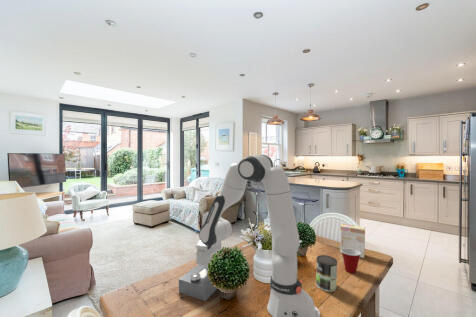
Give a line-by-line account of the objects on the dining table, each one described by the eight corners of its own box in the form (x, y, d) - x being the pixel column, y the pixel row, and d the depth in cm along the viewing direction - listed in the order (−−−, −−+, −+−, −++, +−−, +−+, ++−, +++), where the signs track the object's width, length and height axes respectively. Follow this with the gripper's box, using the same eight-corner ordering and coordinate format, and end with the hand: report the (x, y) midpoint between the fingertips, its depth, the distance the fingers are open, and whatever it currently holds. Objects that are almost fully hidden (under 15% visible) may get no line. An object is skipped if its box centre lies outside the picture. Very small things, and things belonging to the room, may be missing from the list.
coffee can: (320, 291, 112) (320, 264, 111) (313, 280, 122) (313, 254, 122) (340, 292, 112) (341, 264, 112) (331, 280, 122) (332, 255, 122)
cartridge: (207, 273, 124) (208, 258, 124) (215, 275, 122) (215, 260, 121) (195, 284, 113) (195, 268, 113) (203, 287, 111) (203, 270, 111)
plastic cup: (351, 265, 139) (352, 246, 139) (364, 274, 128) (365, 254, 128) (336, 266, 137) (336, 247, 137) (348, 276, 126) (349, 255, 126)
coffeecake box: (364, 254, 154) (365, 227, 154) (364, 258, 148) (364, 229, 148) (341, 249, 162) (341, 223, 162) (339, 253, 156) (340, 225, 156)
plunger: (202, 287, 110) (202, 274, 110) (196, 292, 106) (196, 279, 106) (194, 284, 112) (194, 272, 112) (188, 289, 108) (188, 276, 108)
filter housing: (199, 274, 126) (200, 263, 126) (223, 281, 119) (224, 269, 119) (178, 292, 110) (178, 279, 110) (205, 301, 103) (205, 287, 103)
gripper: (215, 233, 131) (214, 256, 131) (194, 246, 113) (193, 273, 113) (224, 235, 128) (224, 259, 129) (204, 249, 110) (204, 276, 110)
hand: (209, 266), depth 121 cm, fingers closed on cartridge, 3 cm apart
